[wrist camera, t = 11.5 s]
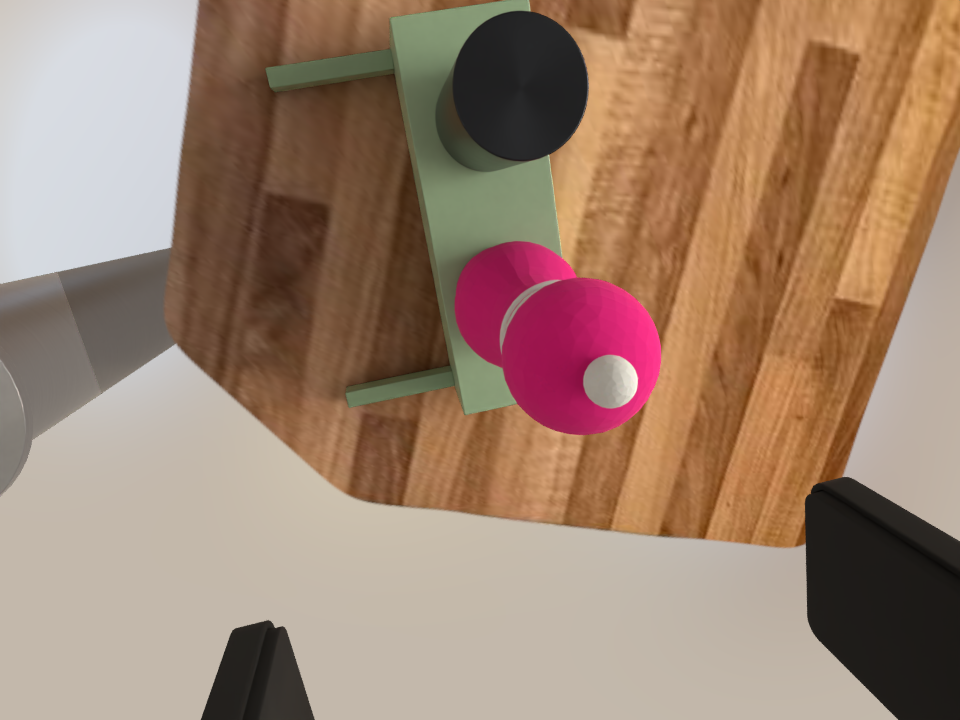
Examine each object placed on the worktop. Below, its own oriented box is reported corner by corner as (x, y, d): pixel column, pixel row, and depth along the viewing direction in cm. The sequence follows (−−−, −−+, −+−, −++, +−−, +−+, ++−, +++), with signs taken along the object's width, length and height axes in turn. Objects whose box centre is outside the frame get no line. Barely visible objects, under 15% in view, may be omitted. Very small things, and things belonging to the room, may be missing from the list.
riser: (351, 406, 46) (344, 441, 39) (268, 66, 39) (243, 38, 32) (553, 364, 47) (579, 391, 41) (505, 30, 41) (528, -4, 34)
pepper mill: (433, 332, 38) (477, 465, 19) (467, 221, 37) (554, 244, 17) (537, 362, 40) (676, 513, 20) (574, 256, 38) (761, 314, 19)
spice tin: (445, 179, 36) (465, 171, 26) (426, 71, 34) (440, 21, 25) (542, 162, 36) (596, 149, 27) (527, 55, 35) (580, 0, 25)
